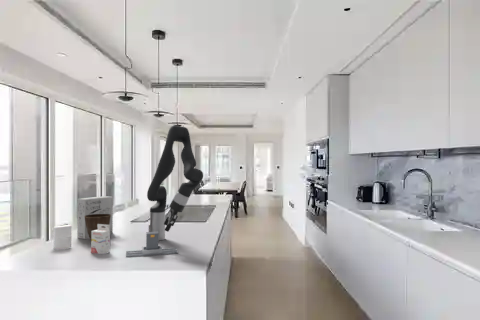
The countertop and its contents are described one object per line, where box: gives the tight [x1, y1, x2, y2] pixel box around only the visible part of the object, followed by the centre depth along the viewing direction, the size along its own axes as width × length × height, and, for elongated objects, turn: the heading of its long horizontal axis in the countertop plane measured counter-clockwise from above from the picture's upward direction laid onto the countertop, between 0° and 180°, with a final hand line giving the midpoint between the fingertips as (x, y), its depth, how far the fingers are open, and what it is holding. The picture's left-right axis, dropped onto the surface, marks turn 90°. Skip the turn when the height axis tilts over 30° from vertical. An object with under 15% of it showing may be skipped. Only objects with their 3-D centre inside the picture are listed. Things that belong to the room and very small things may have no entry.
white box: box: [53, 224, 73, 250], centre depth 198 cm, size 9×9×12 cm
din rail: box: [125, 245, 178, 258], centre depth 186 cm, size 26×9×3 cm, turn 107°
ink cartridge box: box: [90, 224, 111, 255], centre depth 187 cm, size 9×5×15 cm, turn 71°
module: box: [145, 231, 159, 250], centre depth 186 cm, size 6×5×10 cm
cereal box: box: [76, 195, 114, 240], centre depth 231 cm, size 22×8×25 cm, turn 150°
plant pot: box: [84, 214, 111, 241], centre depth 213 cm, size 15×15×16 cm
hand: (165, 227), depth 190 cm, fingers open, 8 cm apart
